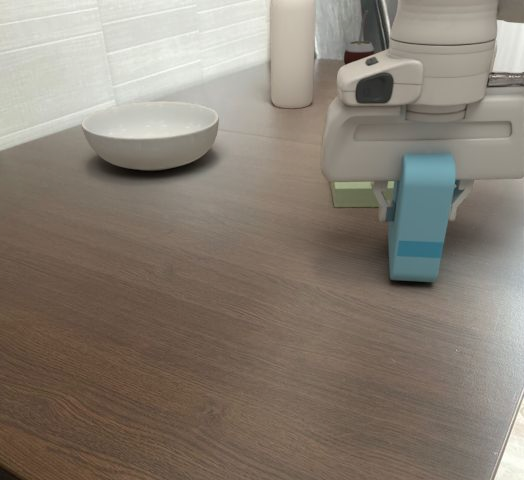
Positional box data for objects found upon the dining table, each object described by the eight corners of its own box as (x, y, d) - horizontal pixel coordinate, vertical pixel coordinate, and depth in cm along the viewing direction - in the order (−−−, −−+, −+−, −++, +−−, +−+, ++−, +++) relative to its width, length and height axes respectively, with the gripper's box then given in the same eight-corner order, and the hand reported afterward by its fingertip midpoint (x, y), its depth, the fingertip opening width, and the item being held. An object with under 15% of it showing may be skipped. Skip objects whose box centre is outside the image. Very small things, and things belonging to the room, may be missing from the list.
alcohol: (314, 99, 120) (320, -76, 101) (310, 109, 113) (316, -77, 94) (274, 98, 121) (273, -75, 103) (268, 108, 114) (265, -75, 96)
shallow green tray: (413, 161, 86) (416, 144, 85) (438, 206, 72) (441, 187, 71) (326, 162, 87) (327, 145, 85) (334, 207, 73) (335, 188, 71)
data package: (435, 288, 55) (458, 170, 48) (389, 286, 56) (405, 168, 49) (426, 235, 65) (444, 129, 57) (387, 234, 65) (400, 129, 58)
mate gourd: (355, 76, 137) (360, 5, 128) (381, 80, 132) (388, 7, 123) (335, 80, 133) (339, 8, 124) (361, 85, 128) (366, 10, 119)
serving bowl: (145, 196, 77) (138, 146, 73) (65, 165, 89) (54, 120, 85) (248, 158, 89) (246, 113, 85) (165, 135, 101) (160, 94, 97)
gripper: (542, 63, 51) (507, 205, 60) (321, 69, 52) (317, 208, 61) (570, 78, 46) (527, 231, 55) (325, 85, 47) (319, 233, 56)
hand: (415, 219), depth 58 cm, fingers closed on data package, 5 cm apart
